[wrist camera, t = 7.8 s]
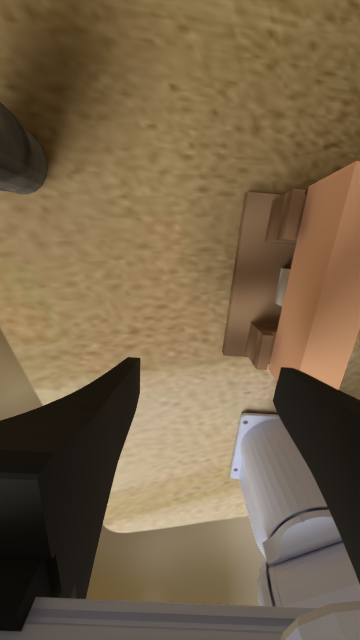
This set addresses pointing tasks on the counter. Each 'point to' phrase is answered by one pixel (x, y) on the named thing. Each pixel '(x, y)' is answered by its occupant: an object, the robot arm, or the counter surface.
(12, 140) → the beverage cup
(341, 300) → the bar
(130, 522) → the counter surface
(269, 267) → the stand
